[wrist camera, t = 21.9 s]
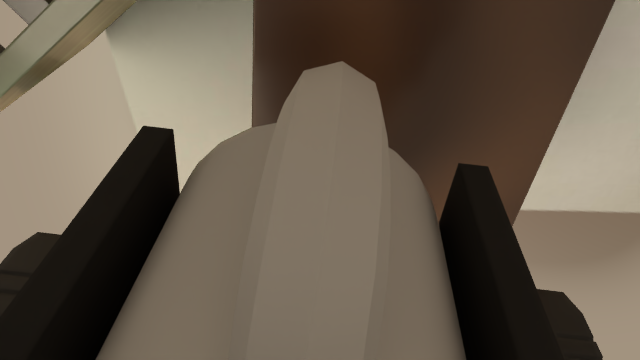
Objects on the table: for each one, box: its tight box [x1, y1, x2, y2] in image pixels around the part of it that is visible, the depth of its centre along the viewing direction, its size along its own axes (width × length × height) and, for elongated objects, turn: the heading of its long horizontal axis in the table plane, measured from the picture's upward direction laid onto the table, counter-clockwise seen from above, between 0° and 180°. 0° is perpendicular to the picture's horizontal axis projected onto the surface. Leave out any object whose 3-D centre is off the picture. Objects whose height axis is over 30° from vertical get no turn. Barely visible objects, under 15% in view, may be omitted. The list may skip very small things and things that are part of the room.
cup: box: [95, 61, 466, 360], centre depth 9 cm, size 7×10×9 cm
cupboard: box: [252, 0, 615, 226], centre depth 24 cm, size 11×18×15 cm, turn 174°
